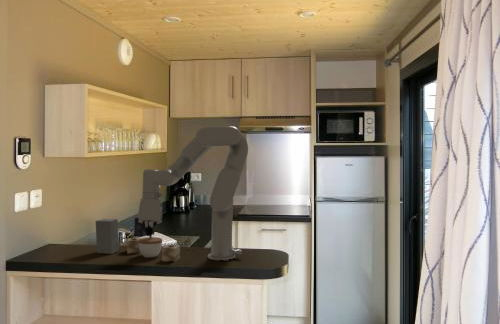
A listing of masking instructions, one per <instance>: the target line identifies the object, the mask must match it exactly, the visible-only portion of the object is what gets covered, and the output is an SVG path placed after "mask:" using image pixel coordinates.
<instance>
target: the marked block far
mask: <svg viewBox="0 0 500 324" xmlns="http://www.w3.org/2000/svg"><path fill="white" fill-rule="evenodd" d="M141 238H142V237H135V238H134V237H133V238H132V237H131V238H129V237H128V238H127V243H126V244H127V247H126V249H127V250H126V253H127V254H141V253H140V250H139V242H138V240H139V239H141Z"/></svg>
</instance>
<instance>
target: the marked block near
mask: <svg viewBox="0 0 500 324" xmlns="http://www.w3.org/2000/svg"><path fill="white" fill-rule="evenodd" d="M161 252H162V253H161V262H169V261H173V262H172V263H176V262H177V261H178V259H179V260H180V259H181V245H175V244H167V245H164V246H162V248H161Z"/></svg>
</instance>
